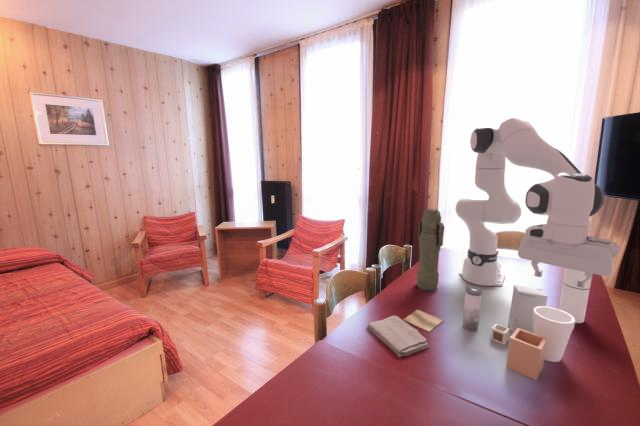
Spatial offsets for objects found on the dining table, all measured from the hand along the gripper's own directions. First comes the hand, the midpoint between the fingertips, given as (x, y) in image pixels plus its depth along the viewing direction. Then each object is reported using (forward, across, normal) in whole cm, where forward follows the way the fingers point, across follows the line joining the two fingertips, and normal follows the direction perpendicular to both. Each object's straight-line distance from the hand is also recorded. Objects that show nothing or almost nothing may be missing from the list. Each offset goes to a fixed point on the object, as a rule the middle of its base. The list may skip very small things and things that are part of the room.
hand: (558, 281), depth 82 cm
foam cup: (+23, 0, 0) cm, 23 cm away
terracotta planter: (+23, +3, +11) cm, 26 cm away
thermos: (+23, +47, -17) cm, 55 cm away
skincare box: (+23, +8, -9) cm, 26 cm away
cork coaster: (+23, +34, +10) cm, 42 cm away
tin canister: (+23, +21, +2) cm, 31 cm away
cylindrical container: (+23, -1, -31) cm, 39 cm away
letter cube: (+23, +12, +2) cm, 26 cm away
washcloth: (+24, +35, +25) cm, 49 cm away
